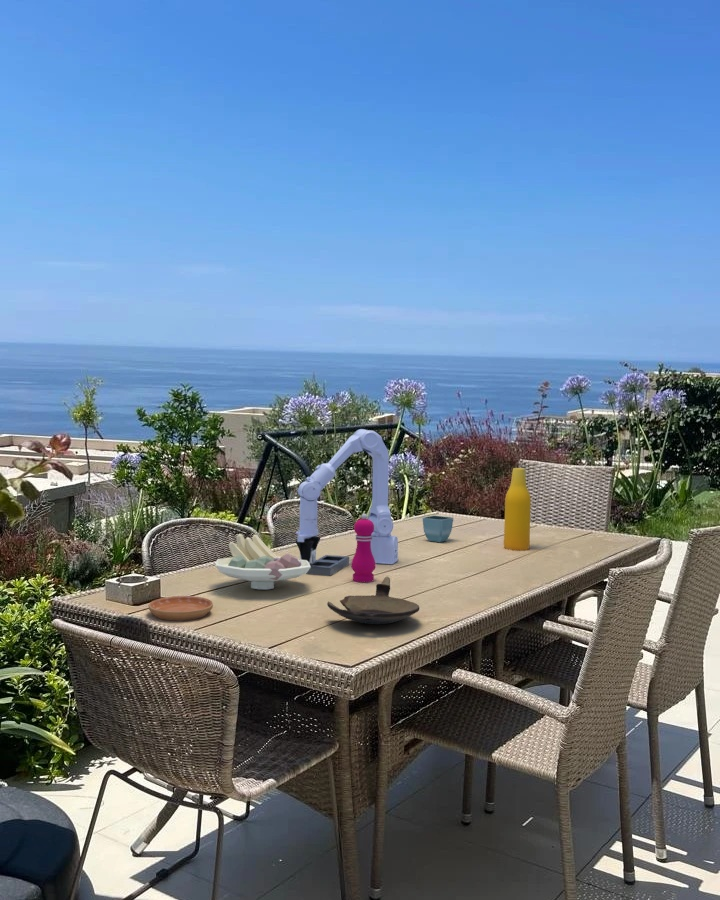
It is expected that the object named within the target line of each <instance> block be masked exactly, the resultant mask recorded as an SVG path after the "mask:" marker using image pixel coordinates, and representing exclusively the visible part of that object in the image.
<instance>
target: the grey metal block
mask: <svg viewBox="0 0 720 900" xmlns="http://www.w3.org/2000/svg"><path fill="white" fill-rule="evenodd" d="M299 559H301V555H300V554H299ZM301 560H302V559H301ZM316 560H317V548H316V549H313V548H311V552H310V560H309V564H310V563H312V562H314V561H316Z"/></svg>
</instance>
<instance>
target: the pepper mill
mask: <svg viewBox="0 0 720 900" xmlns="http://www.w3.org/2000/svg"><path fill="white" fill-rule="evenodd" d="M353 529H354V532H355V533H356V535H355V541H356V549H355V553H354V555H353V558H352V560H351V569H352V571H353V574H352V581H353V582H356V583H357V582H358V583H370V582H374V580H375V579H374V577H375V574H374V573H373V572H374V571H375V569H376V563H375V560H374V557H373V555H372V551H371V540H372V535H371V534H372V533H373V531H374V524H373V522H372V521H370V520H368V515H367V514H366V513H362V514H361V517H360V519H358V520H356V522H355V523H354V525H353Z"/></svg>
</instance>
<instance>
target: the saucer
mask: <svg viewBox="0 0 720 900" xmlns="http://www.w3.org/2000/svg"><path fill="white" fill-rule="evenodd" d="M213 607H214V603H213V601H212V600H211V599H209V598H206V597H201V596H195V595H194V596H192V595H176V596H175V595H173V596H167V597H161V598H158V599H154V600H152V601H151V602H149V603H148V611H150V612H151V614H152V615H154V616H155V617H156V618H158V619H161V620H165V621H190V620H191V621H192V620H196V619H200V618H203V617H206V615H207V614H208V613H210V612H211V610H212V609H213Z"/></svg>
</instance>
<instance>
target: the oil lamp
mask: <svg viewBox="0 0 720 900" xmlns="http://www.w3.org/2000/svg"><path fill="white" fill-rule="evenodd" d="M375 587H376V588H375V595H374V594H373V595H346V596H344V598H342V599H340V600H339V602H340V604H341V605H342V606H343V607H344V608H345V609H343V608H341V609H340V608H339V606H336V605H335V604H334V603H332V602H331V601H327V607H328V608H329V609H330V610H331V611H333V612H334V613H336V614H338V615H339V616H341V617H342V618H344V619H348V620H350V621H352V622H355V623H359V624H360V623H361V624H366V625H387V624H392V623H396V622H398V621H402V620H404V619H407V618H409V617H410V616H413V615H415V614H417V613H418V612H420V605H419V604H418V603H415V602H413V601H410V600H406V599H403V598H399V597H398V598H397V597H392V596H389V595H390V591H391V578H390V577H389V576H385V577H384V578H383V579H382V582H381V583H376V585H375Z"/></svg>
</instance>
